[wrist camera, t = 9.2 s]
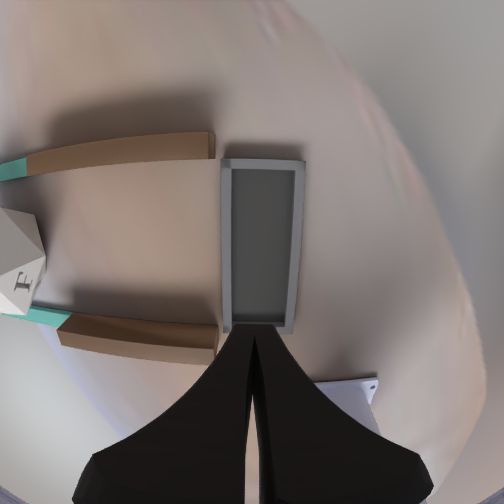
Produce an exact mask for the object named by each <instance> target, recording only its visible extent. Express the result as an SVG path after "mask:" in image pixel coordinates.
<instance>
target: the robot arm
mask: <svg viewBox="0 0 504 504" xmlns="http://www.w3.org/2000/svg"><path fill="white" fill-rule="evenodd" d="M378 383H379V380H378V378H377V377H373V378H365V379H356V380H346V381H334V382H320V383H313V382H312V380H311V379H310V378H309V377H308V376H307V375H306V373H305V372H304V371H303V370H302V368H301V367H300V366H299V365H298V363H297V362H296V360H295V359H294V358H293V356H292V355H291V353H290V352H289V350H288V349H287V347H286V346H285V344H284V342H283V341H282V339H281V337H280V335H279V334H278V332H277V329H276V327H275V326H274V325H273V324H235V325H234V326H232V329H231V332H230V334H229V336H228V338H227V340H226V341H225V343H224V345H223V346H222V348H221V350H220V351H219V353H218V354H217V356H216V357H215V359H214V360H213V362H212V363H211V364H210V365H209V367H208V368H207V369H206V371H205V372H204V373H203V374H202V376H201V377H200V378H199V379H198V380H197V381H196V383H195V384H194V385H193V386H192V387H191V388H190V389H189V390H188V391H187V392H186V393H185V394H184V395H183V396H182V397H181V398H180V399H179V400H178V401H177V402H175V403H174V404H173V405H172V406H171V407H170V408H169V409H167V410H166V411H165V412H164V413H162V414H161V415H160V416H159V417H157V418H156V419H154V420H153V421H152V422H150V423H149V424H147V425H146V426H144V427H143V428H141V429H140V430H138V431H137V432H135V433H134V434H132V435H130V436H129V437H127V438H125V439H123V440H121V441H119V442H117V443H115V444H113V445H112V446H109V447H107V448H105V449H103V450H101V451H99V452H97V453H94V454H93V455H92V457H91V458H90V460H89V462H88V463H87V465H86V466H85V468H84V470H83V472H82V474H81V477H80V479H79V482H78V485H77V487H76V489H75V492H74V495H73V497H72V501H73V503H74V504H245V455H246V444H247V436H248V428H249V419H250V411H251V403H252V394H253V403H254V412H255V421H256V429H257V438H258V447H259V504H427V502H426V498H427V497H428V496H429V495H430V493H431V491H432V489H433V487H434V485H433V482H432V480H431V478H430V475H429V472H428V470H427V468H426V466H425V464H424V463H423V461H422V459H421V457H420V455H419V454H418V453H415V452H413V451H411V450H408V449H406V448H404V447H402V446H400V445H397V444H395V443H393V442H391V441H389V440H387V439H385V438H383V437H382V436H381V433H380V431H379V428H378V425H377V423H376V420H375V418H374V415H373V413H372V410H371V408H370V403H371V401H372V398H373V396H374V393H375V391H376V389H377V386H378ZM0 504H28V503H26V502H24V501H23V500H21V499H20V498H18V497H16V496H15V495H13V494H12V493H10V492H9V491H7V490H6V489H4V488H3V487H2V486H0ZM479 504H504V487H503V488H502V489H500V490H499V491H497V492H496V493H494V494H493V495H491V496H490V497H488V498H487V499H485V500H483V501H482V502H480V503H479Z"/></svg>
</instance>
